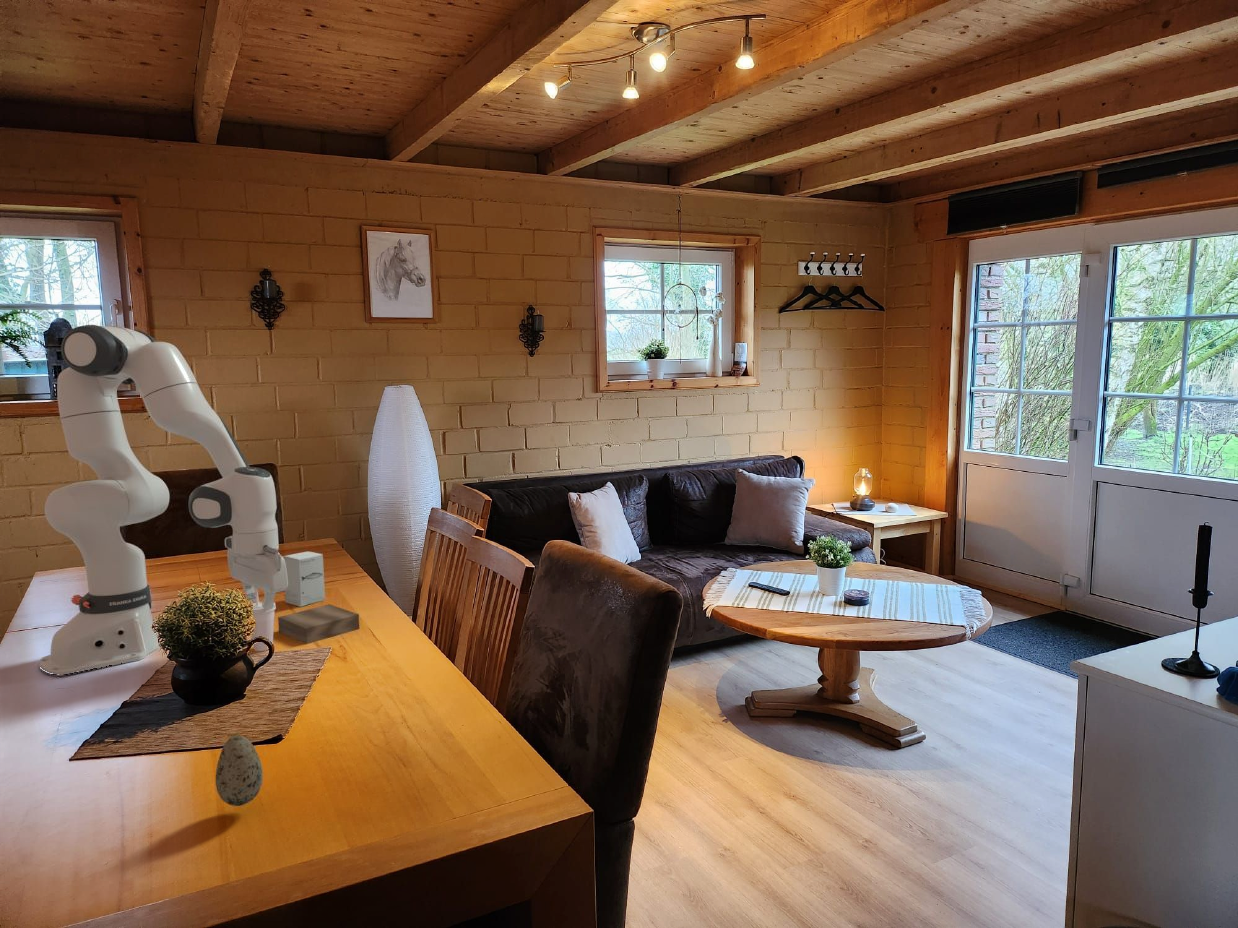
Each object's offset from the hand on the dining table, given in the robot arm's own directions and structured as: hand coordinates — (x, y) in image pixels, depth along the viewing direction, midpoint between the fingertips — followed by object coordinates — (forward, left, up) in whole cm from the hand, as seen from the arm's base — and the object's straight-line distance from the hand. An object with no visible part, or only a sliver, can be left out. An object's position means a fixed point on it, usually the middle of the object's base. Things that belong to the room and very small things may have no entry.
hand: (259, 604), depth 174 cm
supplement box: (+24, +27, -10) cm, 37 cm away
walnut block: (+14, +2, -10) cm, 18 cm away
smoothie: (0, 0, -10) cm, 10 cm away
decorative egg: (-32, -60, -10) cm, 69 cm away
